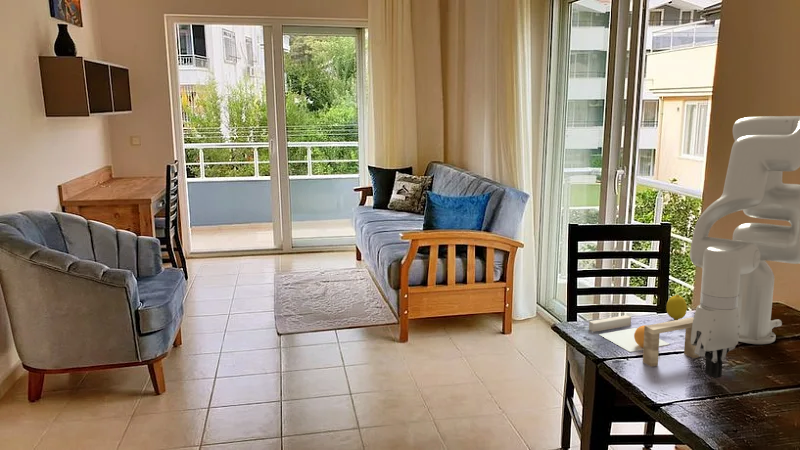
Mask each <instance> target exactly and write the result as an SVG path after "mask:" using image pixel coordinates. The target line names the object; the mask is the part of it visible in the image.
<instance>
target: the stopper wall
mask: <svg viewBox="0 0 800 450" xmlns="http://www.w3.org/2000/svg"><path fill="white" fill-rule="evenodd" d="M631 325H632V317H631V316H629V315H627V314H624V315H619V316H613V317H608V318H601V319H596V320H590V321H588V330H589V331H590V332H593V333H594V332H600V331H606V330H607V331H608V330H612V329H617V328H618V329H619V328H625V327H629V326H631Z"/></svg>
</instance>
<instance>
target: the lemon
mask: <svg viewBox="0 0 800 450" xmlns="http://www.w3.org/2000/svg"><path fill="white" fill-rule="evenodd" d="M687 305H688V304H687V301H686V300H685V298H684V297H682V296H681V295H679V294H675V295H673V296H671V297H669V298H668V300H667V302H666V306H665V307H666V313H667V315H668V316H669V317H670V318H671V319H673V321H675V320H680V319H684V317H685V316H686V314H687V310H688V306H687Z"/></svg>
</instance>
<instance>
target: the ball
mask: <svg viewBox="0 0 800 450" xmlns="http://www.w3.org/2000/svg"><path fill="white" fill-rule="evenodd" d="M647 325H648V324H647ZM647 325H646V324H645V325H644V324H643V325H640V326H638V327H636V328H637V329H636V331H635V334H634V338H635V341H636V343H637V344H638V345H639V346H641V347H644V328H645V326H647Z"/></svg>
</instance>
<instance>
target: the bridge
mask: <svg viewBox="0 0 800 450" xmlns="http://www.w3.org/2000/svg"><path fill="white" fill-rule="evenodd" d="M693 319H694V316H692V317H686V318H681V319H678V320H670V321H664V322H658V323H653V324H647V326H645V328H644V347H643V350H642V352H643V353H642V363H643V364H645V365H647V366H649V367H651V368H652V367H658V365H659V351H660V347H659V339H660V334H664V333H669V332H676V331H680V330H681V331H682V330H685V333H684V335H685V337H684V349H683V350H684V351H683V354H684V355H685V356H687V357H689V358H692V359H697V358H700V356H699V355H697V354H695V349H696V346H694V345H692V344H691V331H692V324H693Z"/></svg>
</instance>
